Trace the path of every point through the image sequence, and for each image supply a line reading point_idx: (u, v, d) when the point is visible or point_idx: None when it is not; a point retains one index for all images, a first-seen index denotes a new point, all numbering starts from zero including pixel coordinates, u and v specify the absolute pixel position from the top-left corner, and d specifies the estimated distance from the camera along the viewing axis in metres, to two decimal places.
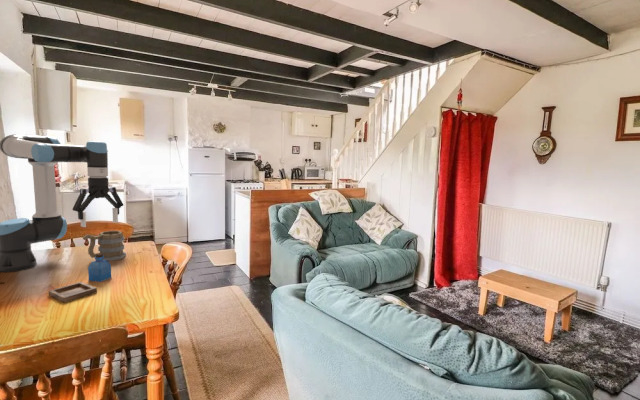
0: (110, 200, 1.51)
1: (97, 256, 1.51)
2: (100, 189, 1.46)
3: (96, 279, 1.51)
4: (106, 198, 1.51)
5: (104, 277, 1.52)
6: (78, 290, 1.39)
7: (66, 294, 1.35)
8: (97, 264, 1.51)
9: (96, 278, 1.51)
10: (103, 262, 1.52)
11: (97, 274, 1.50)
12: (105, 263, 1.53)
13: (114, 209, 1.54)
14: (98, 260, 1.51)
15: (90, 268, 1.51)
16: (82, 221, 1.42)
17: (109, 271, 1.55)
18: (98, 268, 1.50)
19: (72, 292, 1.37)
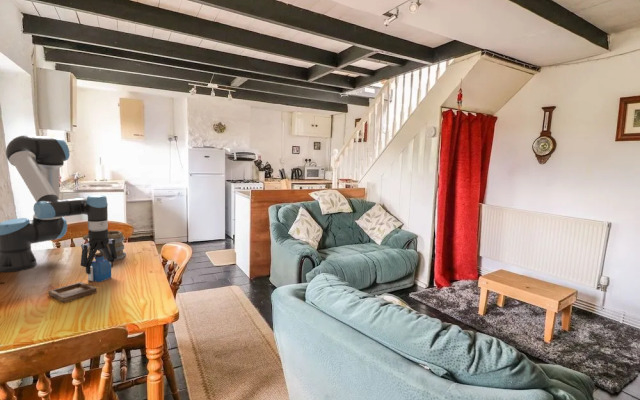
0: (106, 252, 1.54)
1: (97, 256, 1.51)
2: (100, 239, 1.51)
3: (96, 279, 1.51)
4: (103, 250, 1.55)
5: (104, 277, 1.52)
6: (78, 290, 1.39)
7: (66, 294, 1.35)
8: (97, 264, 1.50)
9: (96, 278, 1.51)
10: (103, 262, 1.52)
11: (97, 274, 1.50)
12: (105, 263, 1.53)
13: None
14: (98, 260, 1.51)
15: None
16: (89, 275, 1.50)
17: (109, 271, 1.55)
18: (98, 268, 1.50)
19: (72, 292, 1.37)
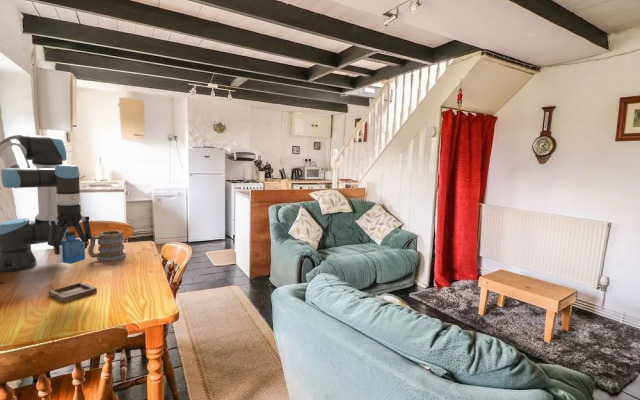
0: (79, 231, 1.36)
1: (68, 234, 1.32)
2: (72, 215, 1.33)
3: (66, 260, 1.32)
4: (75, 228, 1.36)
5: (75, 259, 1.34)
6: (78, 290, 1.39)
7: (66, 294, 1.35)
8: (67, 243, 1.32)
9: (66, 259, 1.32)
10: (75, 242, 1.34)
11: (67, 254, 1.32)
12: (77, 243, 1.35)
13: None
14: (69, 239, 1.33)
15: None
16: (59, 256, 1.31)
17: (82, 252, 1.36)
18: (69, 248, 1.31)
19: (72, 292, 1.37)
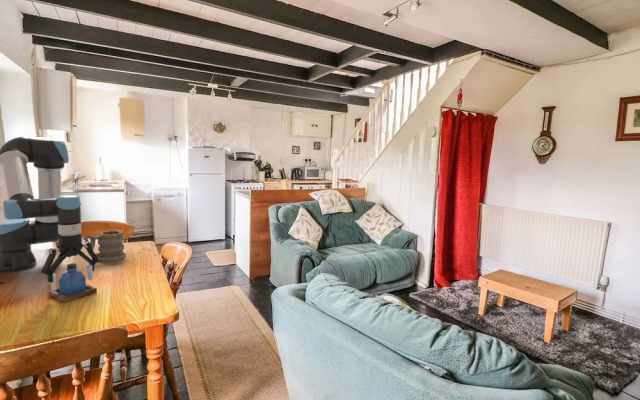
0: (84, 257, 1.38)
1: (69, 267, 1.34)
2: (72, 247, 1.34)
3: (67, 293, 1.34)
4: None
5: (76, 291, 1.35)
6: None
7: None
8: (69, 276, 1.34)
9: (67, 292, 1.34)
10: (76, 274, 1.35)
11: (68, 287, 1.33)
12: (78, 275, 1.36)
13: (88, 266, 1.41)
14: (70, 272, 1.35)
15: (61, 281, 1.34)
16: (52, 284, 1.30)
17: (83, 284, 1.38)
18: (69, 281, 1.33)
19: None
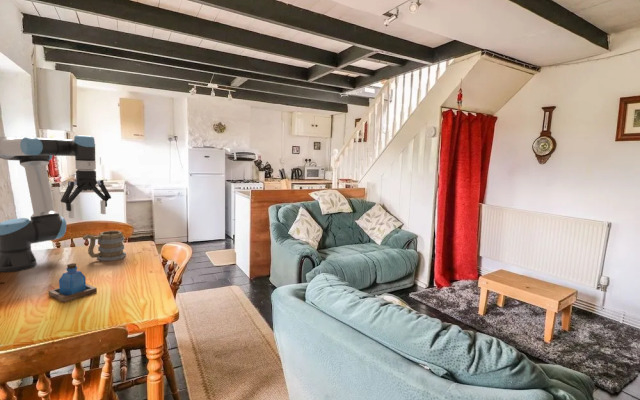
0: (98, 193, 1.56)
1: (69, 267, 1.34)
2: (88, 182, 1.51)
3: (67, 293, 1.34)
4: (94, 191, 1.56)
5: (76, 291, 1.35)
6: None
7: None
8: (69, 276, 1.34)
9: (67, 292, 1.34)
10: (76, 274, 1.35)
11: (68, 287, 1.33)
12: (78, 275, 1.36)
13: (102, 201, 1.59)
14: (70, 272, 1.35)
15: (61, 281, 1.34)
16: (70, 212, 1.47)
17: (83, 284, 1.38)
18: (69, 281, 1.33)
19: None
